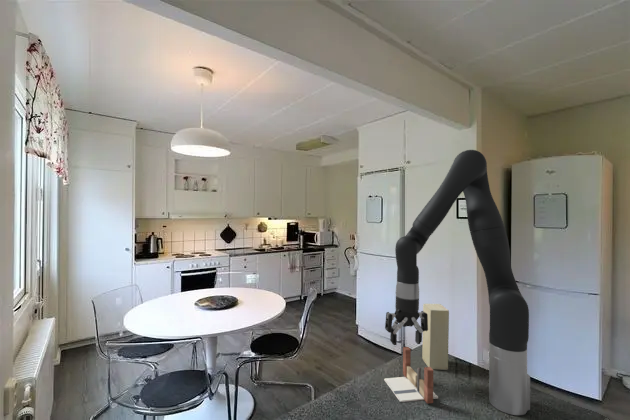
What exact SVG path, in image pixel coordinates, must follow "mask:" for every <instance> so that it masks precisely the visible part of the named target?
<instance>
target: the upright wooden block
mask: <svg viewBox="0 0 630 420" xmlns="http://www.w3.org/2000/svg"><path fill="white" fill-rule="evenodd" d="M422 306H423V307H422V311H423V312H425V313H427V315H428V330H427V331H423V333H422V350H421V351H422V352H421V353H422V356H421V357H422V361H423V362H424V363H425V365H426V367H431V368H432V369H433V370H444V371H446V370H447V371H448V370H449V339H450V338H449V334H450V333H449V328H450V327H449V326H450V325H449V324H450V311H449V309H447V308H446V307H445V306H444V305H442V304H441V303H423V305H422Z"/></svg>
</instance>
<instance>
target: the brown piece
mask: <svg viewBox="0 0 630 420" xmlns="http://www.w3.org/2000/svg"><path fill="white" fill-rule="evenodd" d="M416 369H417V370H416V371H417V372H416V373H417V390H418V391H419V393H420V394H421V395H422V396H423V397H424V400H423V401H425V403H426V404H427V405H428V404H433V403H434V399H433V392H434V369H432V368H431V367H428V366H426V367H424V369H423V371H424V373H423V378H424V379H423V378H422V377H421V376H422V369H421V367H420V366H419V367H417V368H416Z"/></svg>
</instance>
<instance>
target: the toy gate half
mask: <svg viewBox="0 0 630 420" xmlns="http://www.w3.org/2000/svg"><path fill="white" fill-rule="evenodd" d="M411 350H412V349H411V348H410V347H409V346H403V348H402V376H403V377H407V378H408V379H409V380H410V381H411V383H412V384H413V385H414V386H415V387H417V372H416V370H414V369H413V368H412V367H411V363H412V362H411V360H412V359H411V358H412V357H411V355H412V354H411V352H412V351H411Z"/></svg>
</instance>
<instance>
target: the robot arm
mask: <svg viewBox="0 0 630 420" xmlns="http://www.w3.org/2000/svg"><path fill="white" fill-rule="evenodd" d="M487 164H488V162H487V159H486V157H485V155H484V154H483V153H482V152H480V151H478V150H476V149H467V150H463V151H462V152H459V153H458V154H457V156H455V158H454V159H453V162H452V164H451V166H450V168H449V170H448V172H447V174H446V175H445V178H444V179H443V181H442V182H441V184H440V185H439V187H438V188H437V190H436V191H435V193H434V194H433V195H432V197H431V198H430V199H429V200H428V202H427V203H426V205H424V207H423V208H422V210H421V211H420V212H419V214H418V215H417V217H416V218H415V219H414V221H413V222H412V227H411V228H410V229H409V231H408V232H407V233H406V234H405V235H404V236H401V237H399V238H398V239H397V241H396V243H395V248H394V249H395V250H394V251H395V261H396V265H397V266H396V267H397V270H396V286H395V305H394V307H395V312H394V313H392V312H389V311H387V312H386V313H385V323H384V329H385V331H387V333H390V342H391V344H392V345H393V346H397V337H398V335H397V333H398V332H399V330H401V329H402V328H406V327H413V328H414V329H415V339H414V341H415V343H416V344H417V345H421V343H423V331H427V330H428V315H427V313H425V312H423V310H421V311H420V284H419V282H420V276H419V275H420V270H419V266H418V265H417V261H418V260H417V257H418V254H419V253H420V252H421V251H422V249H423V248H424V246H425V245H426V243H427V241H428V240H429V239H430V237H431V236H432V235H433V234H434V233H435V231H436V230H437V229H438V227H439V226H440V225H441V224H442V222H443V221H444V219H445V218H446V216H447V215H448V213H449V212H450V210H451V208H452V207H453V205H454V203H456V201H457V199H458V198H459V197H460V195H461V194H462V193H463V195H464V200H465V204H466V205H465V207H466V216H467V224H468V229H469V232H470V233H469V234H470V237H471V241H472V244H473V248H474V251H475V253H476V255H477V257H478V260H479V262H480V264H481V267H482V269H483V272H484V277H485V280H486V288H487V292H488V293H487V294H488V304H489V332H488V334H489V335H488V337H489V338H488V344H489V345H488V358H489V359H488V397H489V398H488V401H489V403H490V405H492V406H493V407H494V408H495V409H496V410H498V411H501V412H503V413H504V414H509V415H511V416H513V415H514V416H524V415H526V413H527V412H528V411H531V376H530V375H529V374H528V342H529V335H530V333H529V332H530V331H529V330H530V329H529V328H530V327H529V326H530V323H529V322H530V309H529V305H528V302H527V301H526V300H525V298H524V296H523V294H522V292H521V290H520V288H519V286H518V283H517V280H516V278H515V276H514V275H515V274H514V273H513V269H512V264H511V263H512V262H511V261H512V260H511V249H510V245H509V244H510V243H509V239H508V234H507V231H506V228H505V227H506V226H505V224H504V221H503V219H502V214H501V213H500V210H499V208H498V207H497V203H496V202H495V200H494V197H493V195H492V193H491V188H490V182H489V177H488V165H487ZM419 311H420V312H419ZM419 318H420V324H419V322H418V319H419ZM394 319H395V320H394Z"/></svg>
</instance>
